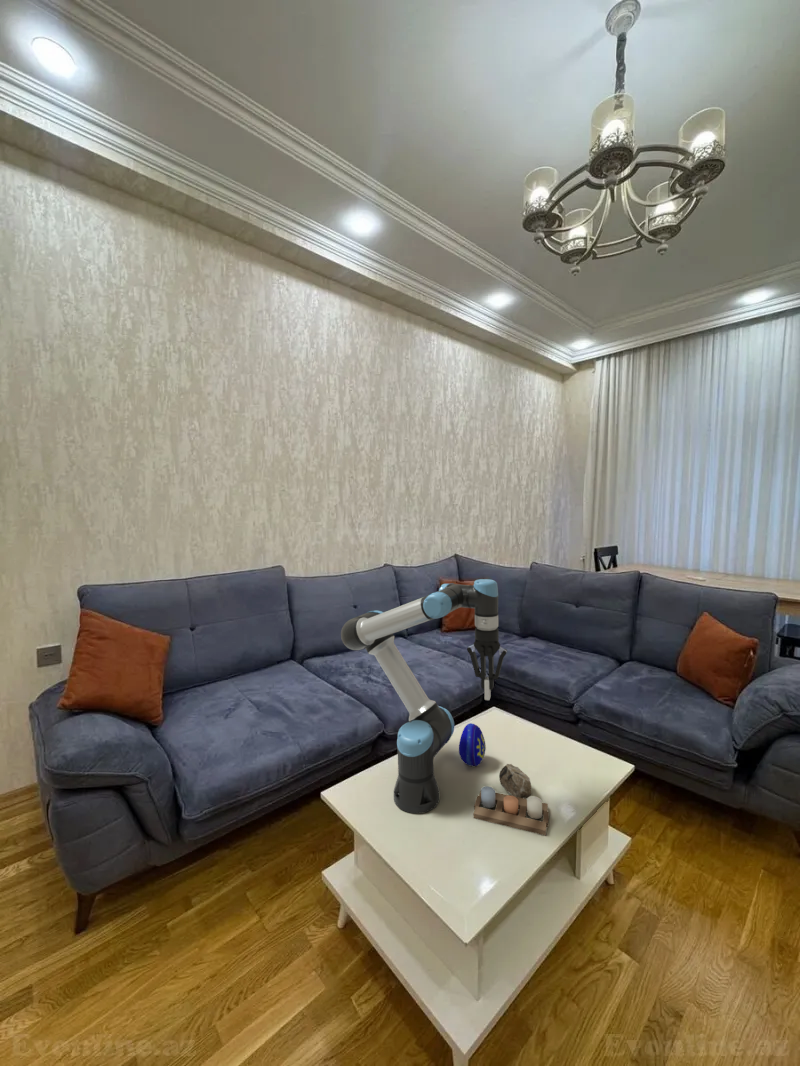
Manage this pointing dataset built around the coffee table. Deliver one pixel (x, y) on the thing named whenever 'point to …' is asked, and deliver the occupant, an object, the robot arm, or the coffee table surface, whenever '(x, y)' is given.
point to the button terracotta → (511, 805)
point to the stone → (515, 781)
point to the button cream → (534, 807)
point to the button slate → (488, 797)
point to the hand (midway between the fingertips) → (487, 698)
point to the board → (509, 819)
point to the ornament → (472, 745)
